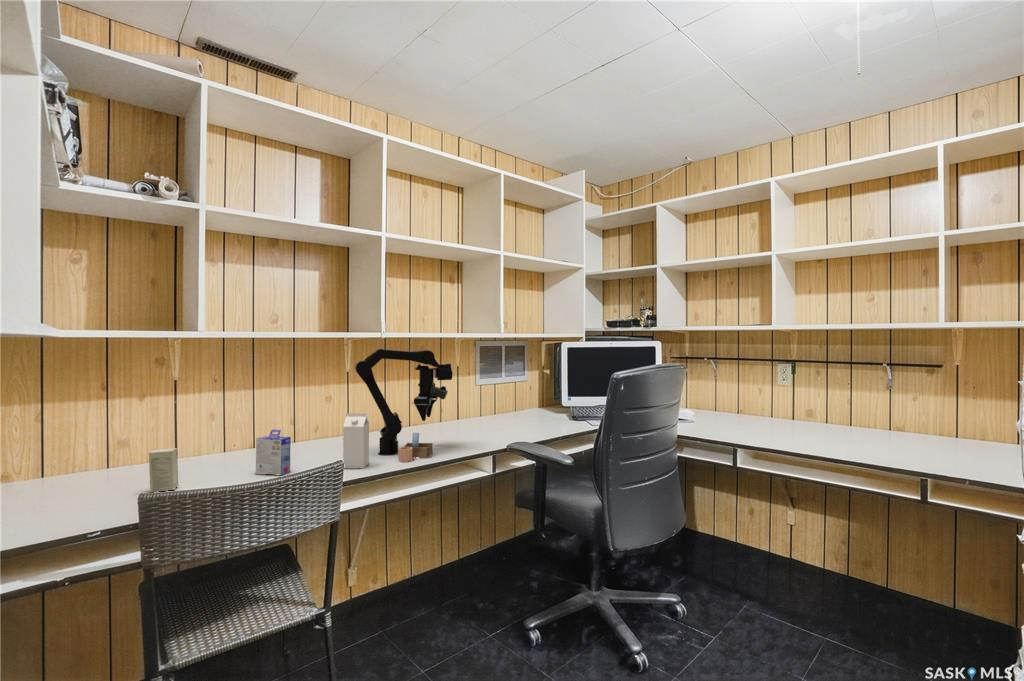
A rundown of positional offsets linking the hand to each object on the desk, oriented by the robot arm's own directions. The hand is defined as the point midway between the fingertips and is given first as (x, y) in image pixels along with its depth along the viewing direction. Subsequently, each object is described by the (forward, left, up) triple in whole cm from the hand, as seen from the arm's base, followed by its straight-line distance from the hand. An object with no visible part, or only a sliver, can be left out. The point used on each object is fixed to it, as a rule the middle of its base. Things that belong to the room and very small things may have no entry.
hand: (426, 418), depth 204 cm
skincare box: (-68, -55, -13) cm, 89 cm away
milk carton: (-20, -26, -13) cm, 35 cm away
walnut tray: (-2, -9, -13) cm, 16 cm away
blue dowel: (-2, -9, -13) cm, 16 cm away
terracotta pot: (-5, -17, -13) cm, 22 cm away
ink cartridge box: (-45, -36, -13) cm, 59 cm away
